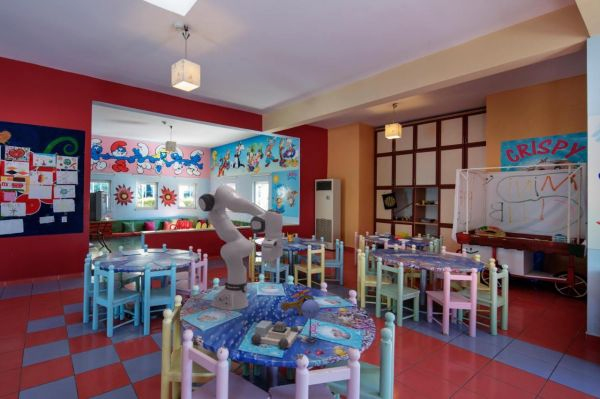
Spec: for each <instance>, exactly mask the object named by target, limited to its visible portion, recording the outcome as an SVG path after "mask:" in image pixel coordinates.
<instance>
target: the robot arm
mask: <svg viewBox="0 0 600 399" xmlns="http://www.w3.org/2000/svg"><path fill="white" fill-rule="evenodd" d="M198 206H199V208H200V209H201V211H203V212H208V218H209V221H210V223H211V225H212V227H213V228H214V231H215V232H216V234H217V236H218V238H220V240H222V241H224V242H226V243H225V244H224V245H222V247H221V248H220V256H221V258H222V259H223V260H224V261H225V265H226V268H227V281H226V282H224V283H223V286H224V288H222V289H220V291H219V292H217V293H216V295H215V297H214V300H213V301H211V303H210V307H212V308H216V307H217V309H220V308H221V309H220V310H225V311H229V312H230V311H234V310H243V309H245V308H247V307H249V302H248V301H249V300H248V296H247V294H248V293H247V291H248V282H247V281H248V280H247V274H248V273H247V272H248V270H247V267H246V266H245V265H244V262H243V261H244V260H243V259H244V258H246V257H248V256H250V255H251V254H252V253H253V251H254V244H253V242H252V241H251V240H249V239H248V238H246V237H245V236H244V235H243V234H242V233H241V232H240V231H239V230H238V229H237V228H236V226H235V225H234V223H233V221H232V220H231V218H230V216H229V215H228V213H227V211H226V209H227V210H229V211H230V212H233V213H237V214H238V213H239V214H240V213H241V214H245V215H246V214H247V215H250V216H252V218H251V219H250V223H249V224H250V225H249V226H250V230H251V231H252V232H253V233H254V234H265V235H264V239H263V240H262V241H261V243H260V244H261V245H260V246H261V261H262V262H263V263H269V266H270V269H275V268H276V265H277V261H278V259H279V258H281V257H282V256H283V255H284V245H283V232H282V230H283V215H282V211H280V210H277V209H267V210H264V208H262V207H260V206H259V205H258V204H256V203H254V202H252V201H251V200H249V199H248V198H246V197H245V196H244V195H243V194H241V193H240V192H238V191H237V190H236V189H234V188H233V187H231V186H229V185H227V184H221V185H219V186H218V187H217V188H216V190H213V191H210V192H208V193H203V194H202V195H201V196H199V198H198Z"/></svg>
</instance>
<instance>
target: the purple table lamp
mask: <svg viewBox="0 0 600 399" xmlns="http://www.w3.org/2000/svg"><path fill="white" fill-rule="evenodd" d="M301 310H302V315H303V316H304V317H305V318H306V319H309V330H308V337H309V338H308V339H309V340H310V341H312V319H315V318H317V317H318V315H319V313H320V312H321V307H320V305H319V303H318V302H317V301H316V300H315V299H314V300H307V301H305V302H304V303H303V305H302V308H301Z"/></svg>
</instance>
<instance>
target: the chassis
mask: <svg viewBox="0 0 600 399" xmlns="http://www.w3.org/2000/svg"><path fill="white" fill-rule="evenodd" d="M273 325H274V324H273V322H272V321H271V320H263V319H262V320H261V321H259V323H258V324H257V325H255V327H254V334H253V335H252V336H251V337H250V341H251V343H252V344H253V345H258V344H262V345H263V344H264V345H271V346H276V347H279V348H280V349H282V350H285V349H287V348H288V349H290V348H291V347H292V345H293V344H294V343H295V341H296V340H297V338H298V337H299V335H298V334H299V333H298V332H299V328H298V326H296V325H292V326H290V327H287V326H286V332H285V333H278V332H273Z"/></svg>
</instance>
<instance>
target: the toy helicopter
mask: <svg viewBox="0 0 600 399" xmlns="http://www.w3.org/2000/svg"><path fill="white" fill-rule="evenodd" d="M310 291H311V289H310V288H308V289H305V290H300V291H298V293H296V294H293V295H292V296H291V298H293V299H294V298H297V297H299V298H298V299H296V301H290V302H288V301H283V302H282V303H281V304H280V308H281V309H280V310H282V311H283V312H287V311H289V310H290V309H297V313H298V314H299V316H300V315H301V316H302V315H303V313H302V310H301V308H302V305H303V303H304V302H305V301H307V300H314V301H315V297H314V296H313V295H311V294H309V293H308V292H310ZM305 293H306V294H305Z"/></svg>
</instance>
